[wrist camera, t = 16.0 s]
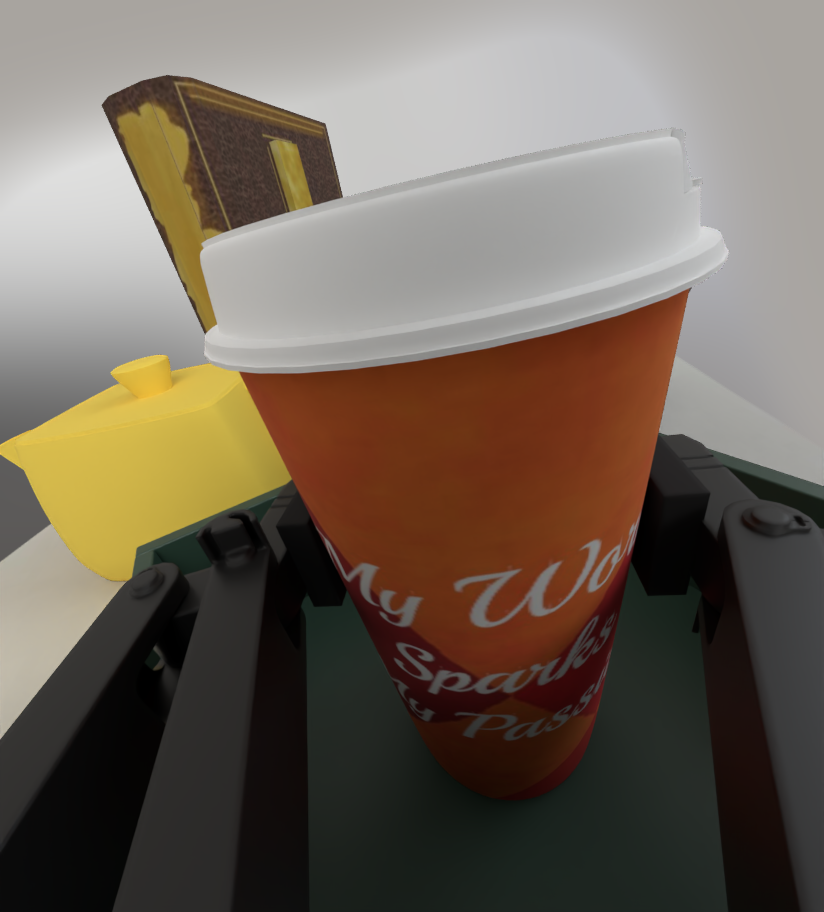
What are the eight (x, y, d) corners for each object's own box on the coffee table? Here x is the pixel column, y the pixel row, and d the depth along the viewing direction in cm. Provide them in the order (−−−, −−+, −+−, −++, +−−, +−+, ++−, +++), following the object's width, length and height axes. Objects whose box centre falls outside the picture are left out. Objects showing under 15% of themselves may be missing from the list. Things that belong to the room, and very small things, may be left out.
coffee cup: (382, 874, 11) (-49, 273, 3) (387, 614, 18) (261, 243, 10) (702, 837, 10) (1113, 1, 3) (574, 584, 17) (585, 169, 10)
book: (325, 462, 33) (182, 61, 21) (243, 463, 36) (74, 111, 23) (401, 369, 51) (348, 124, 38) (342, 375, 53) (276, 149, 41)
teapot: (17, 608, 24) (-155, 444, 18) (134, 492, 35) (48, 365, 29) (330, 555, 23) (251, 361, 17) (351, 452, 34) (307, 310, 28)
